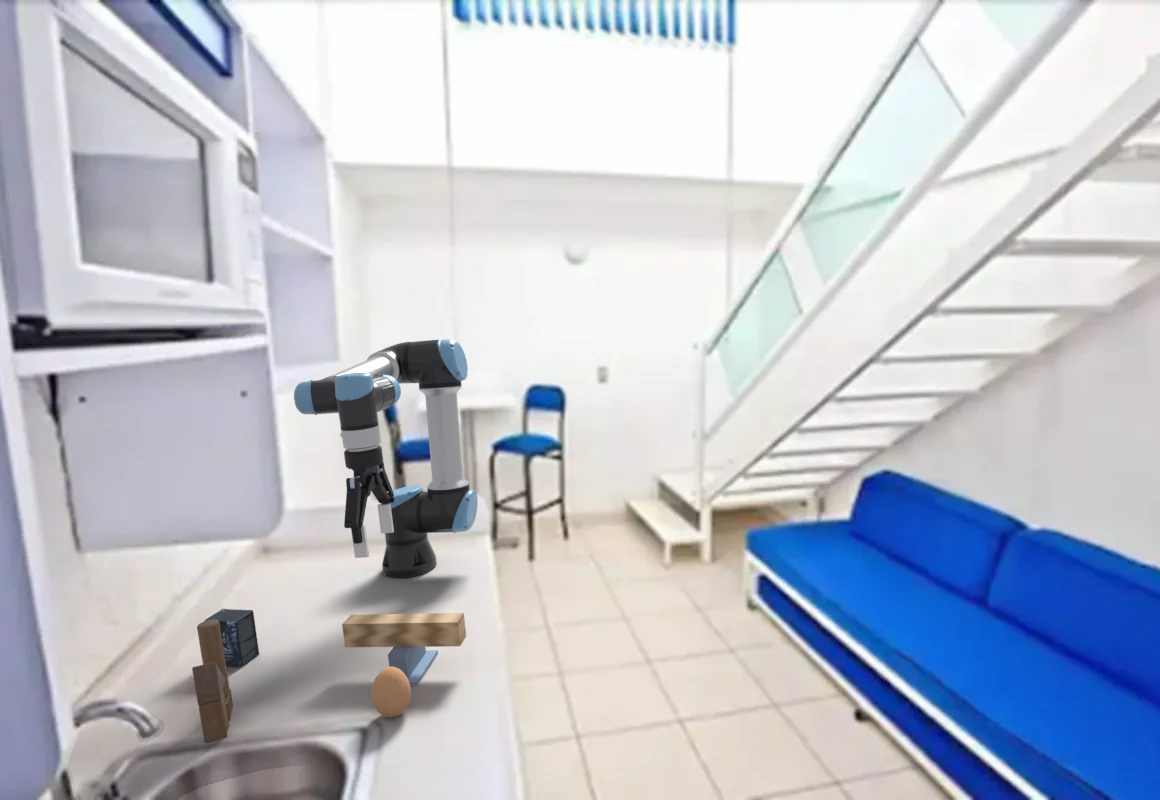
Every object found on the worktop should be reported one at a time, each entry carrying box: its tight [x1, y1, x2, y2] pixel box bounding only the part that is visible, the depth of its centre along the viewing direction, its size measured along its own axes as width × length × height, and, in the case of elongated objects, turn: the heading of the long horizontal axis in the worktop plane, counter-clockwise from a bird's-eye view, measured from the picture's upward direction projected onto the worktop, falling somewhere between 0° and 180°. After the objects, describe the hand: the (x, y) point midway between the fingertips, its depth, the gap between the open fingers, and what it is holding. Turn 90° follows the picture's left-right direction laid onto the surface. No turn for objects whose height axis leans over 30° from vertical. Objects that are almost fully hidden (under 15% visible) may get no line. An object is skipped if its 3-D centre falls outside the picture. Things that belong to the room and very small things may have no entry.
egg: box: [371, 666, 412, 718], centre depth 117 cm, size 7×7×9 cm
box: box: [204, 608, 260, 668], centre depth 142 cm, size 8×6×11 cm
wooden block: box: [191, 619, 234, 743], centre depth 118 cm, size 4×11×18 cm, turn 23°
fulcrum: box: [387, 647, 439, 687], centre depth 133 cm, size 12×8×6 cm, turn 173°
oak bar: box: [341, 612, 467, 648], centre depth 132 cm, size 24×4×5 cm, turn 83°
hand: (375, 544), depth 140 cm, fingers open, 13 cm apart
